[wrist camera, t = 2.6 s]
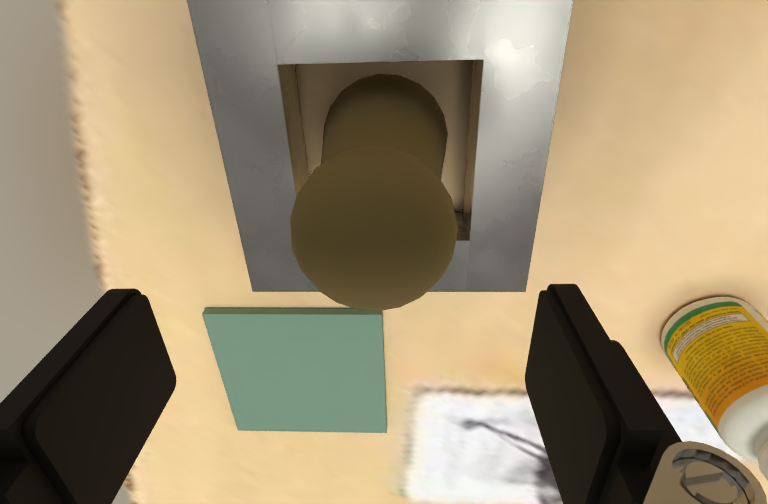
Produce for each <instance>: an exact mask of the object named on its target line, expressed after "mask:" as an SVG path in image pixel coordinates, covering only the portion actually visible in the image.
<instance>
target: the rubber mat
mask: <svg viewBox="0 0 768 504" xmlns="http://www.w3.org/2000/svg"><path fill="white" fill-rule="evenodd" d="M202 315H203V319H204V322H205V325H206V328H207V332H208V335H209V338H210V341H211V345H212V348H213V351H214V354H215V358H216V361H217V364H218V367H219V371H220V374H221V377H222V380H223V384H224V387H225V390H226V393H227V397H228V400H229V403H230V406H231V410H232V413H233V416H234V419H235V423H236V426H237V429H238V430H245V431H303V432H362V433H387V413H386V389H385V365H384V341H383V317H382V310H381V311H374V310H360V309H355V308H205V310H204V312H203V313H202Z"/></svg>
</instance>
